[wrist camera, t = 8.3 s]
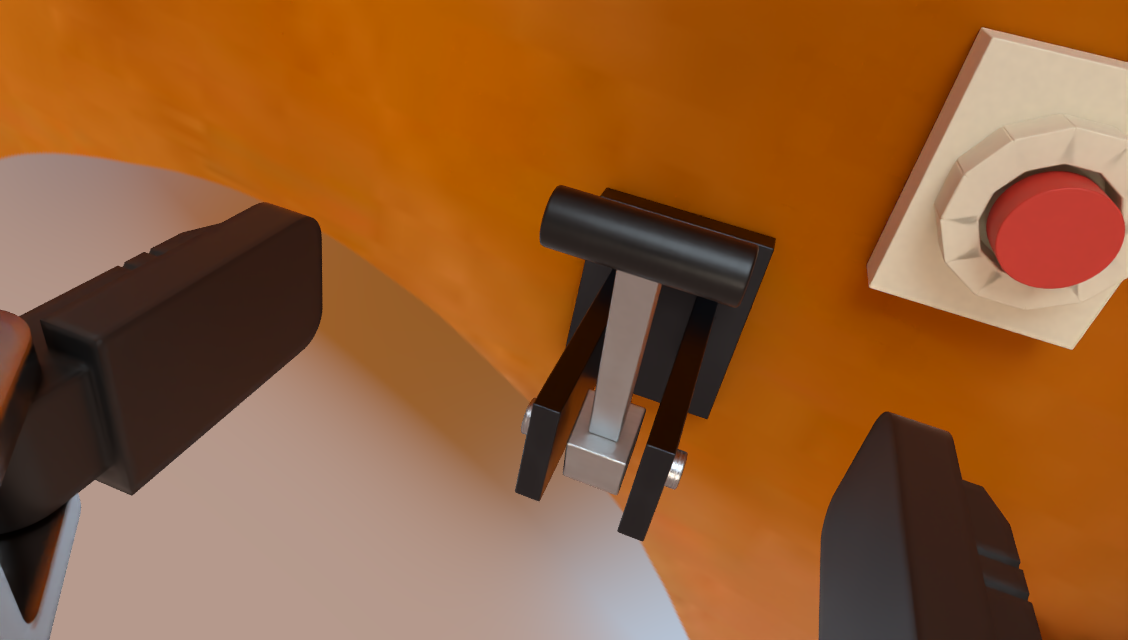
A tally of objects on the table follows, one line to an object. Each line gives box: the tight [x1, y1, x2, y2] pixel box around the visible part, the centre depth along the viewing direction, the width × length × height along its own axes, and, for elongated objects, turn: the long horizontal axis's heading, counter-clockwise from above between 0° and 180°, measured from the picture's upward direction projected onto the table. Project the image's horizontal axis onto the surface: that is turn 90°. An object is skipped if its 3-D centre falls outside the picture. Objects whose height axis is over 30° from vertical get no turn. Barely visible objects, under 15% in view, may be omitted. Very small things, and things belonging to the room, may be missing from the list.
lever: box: [540, 185, 759, 495], centre depth 22 cm, size 13×5×2 cm, turn 169°
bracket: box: [515, 188, 776, 541], centre depth 30 cm, size 10×8×13 cm
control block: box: [867, 28, 1128, 350], centre depth 26 cm, size 10×8×4 cm
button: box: [986, 171, 1125, 289], centre depth 24 cm, size 4×4×2 cm
